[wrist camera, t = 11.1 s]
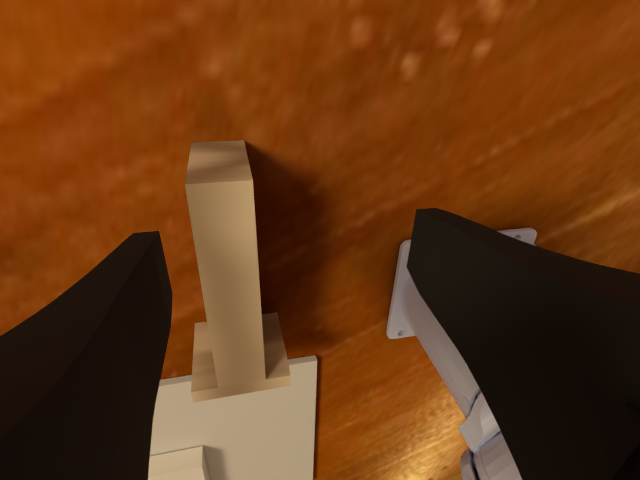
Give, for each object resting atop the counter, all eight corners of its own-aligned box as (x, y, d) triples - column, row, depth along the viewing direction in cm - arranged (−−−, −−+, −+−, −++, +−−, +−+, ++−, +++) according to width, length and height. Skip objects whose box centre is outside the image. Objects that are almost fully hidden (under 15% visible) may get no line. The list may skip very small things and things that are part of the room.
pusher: (271, 139, 19) (287, 177, 15) (277, 321, 25) (290, 385, 21) (161, 143, 18) (145, 186, 14) (196, 332, 24) (193, 402, 20)
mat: (315, 355, 27) (317, 360, 27) (311, 477, 35) (312, 483, 35) (-53, 413, 23) (-58, 421, 22) (41, 539, 31) (39, 546, 30)
